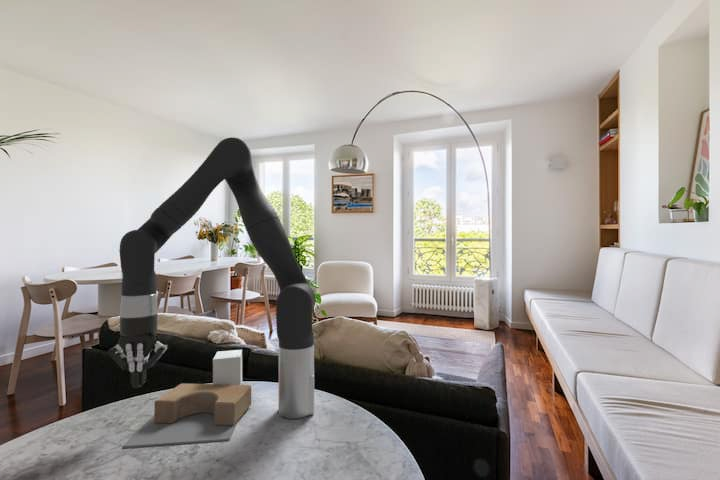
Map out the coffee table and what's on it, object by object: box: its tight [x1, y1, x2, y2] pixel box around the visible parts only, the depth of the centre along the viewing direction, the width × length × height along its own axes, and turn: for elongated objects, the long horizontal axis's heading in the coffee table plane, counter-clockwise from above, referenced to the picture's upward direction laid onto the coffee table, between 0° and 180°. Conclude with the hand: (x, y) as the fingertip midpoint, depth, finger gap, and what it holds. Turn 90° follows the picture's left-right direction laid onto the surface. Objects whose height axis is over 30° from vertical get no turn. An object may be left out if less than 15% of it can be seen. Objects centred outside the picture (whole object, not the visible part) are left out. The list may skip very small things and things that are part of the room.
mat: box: [122, 413, 240, 449], centre depth 81 cm, size 22×16×1 cm
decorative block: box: [153, 382, 252, 426], centre depth 86 cm, size 11×6×20 cm
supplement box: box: [212, 349, 243, 385], centre depth 96 cm, size 7×7×13 cm
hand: (138, 386), depth 80 cm, fingers closed
